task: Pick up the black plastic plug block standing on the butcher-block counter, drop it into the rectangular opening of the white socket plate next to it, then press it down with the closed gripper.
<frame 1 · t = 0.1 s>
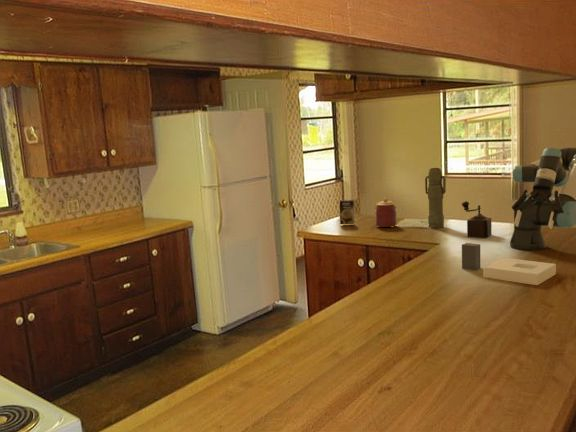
hand: (532, 226, 217), 15 cm above the worktop, tool tilted 35°, fingers open, 13 cm apart
thermos: (436, 227, 314), on the worktop
canister: (386, 226, 326), on the worktop
socket plate: (519, 275, 202), on the worktop
manual coffee grinder: (474, 236, 282), on the worktop
coffee box: (347, 225, 339), on the worktop
plug: (471, 268, 217), on the worktop
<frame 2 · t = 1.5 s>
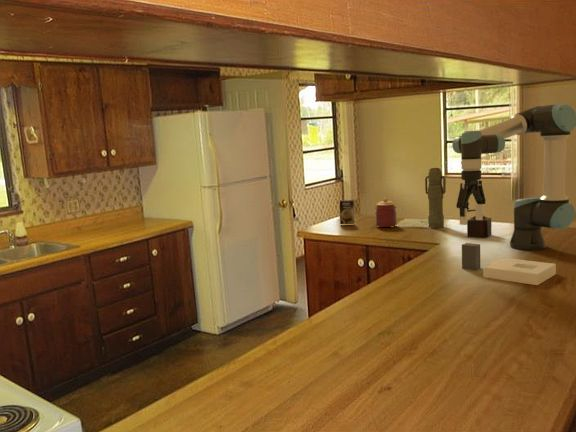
hand: (471, 222, 214), 19 cm above the worktop, tool pointing down, fingers open, 13 cm apart
nothing on the worktop moved.
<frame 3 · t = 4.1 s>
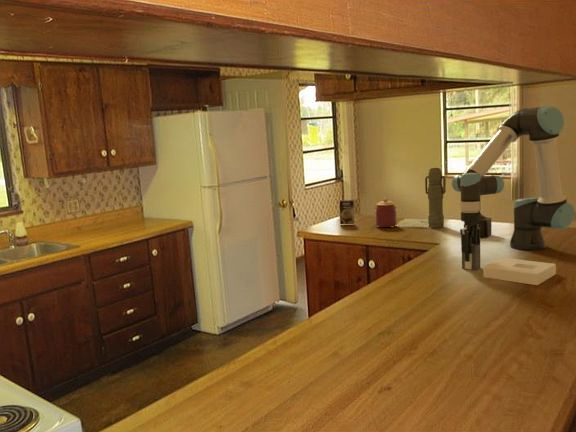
hand: (471, 267, 217), 0 cm above the worktop, tool pointing down, fingers closed on plug, 4 cm apart
plug: (471, 268, 217), on the worktop, touching gripper
everything else where it was.
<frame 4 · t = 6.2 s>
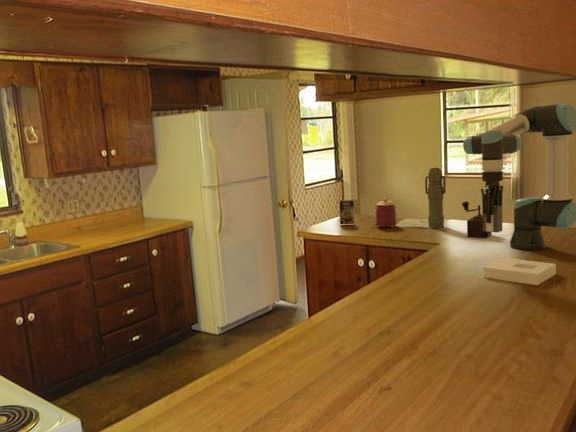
hand: (492, 230, 207), 17 cm above the worktop, tool pointing down, fingers closed on plug, 4 cm apart
plug: (492, 231, 207), point 16 cm above the worktop, touching gripper
everything else where it was.
when the fingers open (5 cm above the worktop, at t = 8.7 s): plug drops 5 cm, resting in socket plate.
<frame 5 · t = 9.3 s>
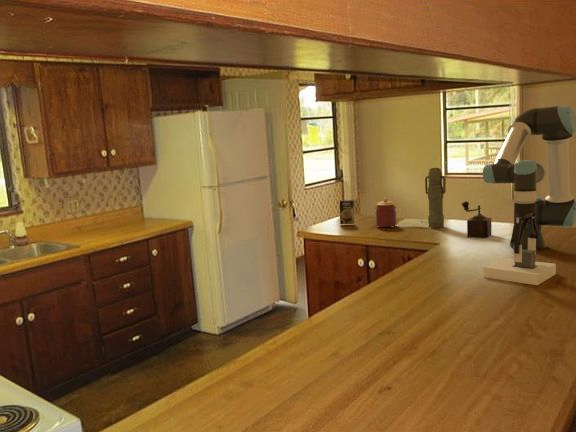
hand: (524, 258, 199), 7 cm above the worktop, tool pointing down, fingers open, 12 cm apart
plug: (524, 276, 200), resting in socket plate
everything else where it was.
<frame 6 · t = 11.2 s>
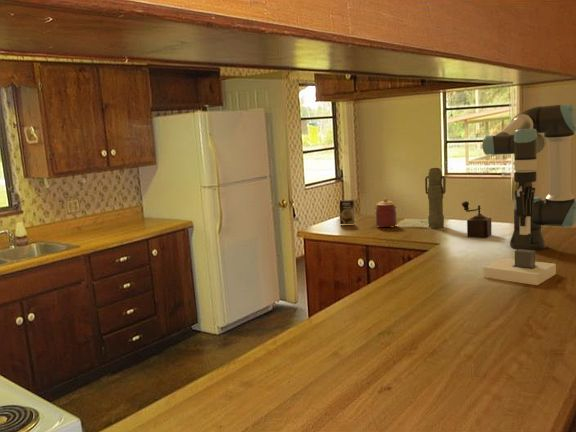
hand: (524, 233, 198), 16 cm above the worktop, tool pointing down, fingers closed
nothing on the worktop moved.
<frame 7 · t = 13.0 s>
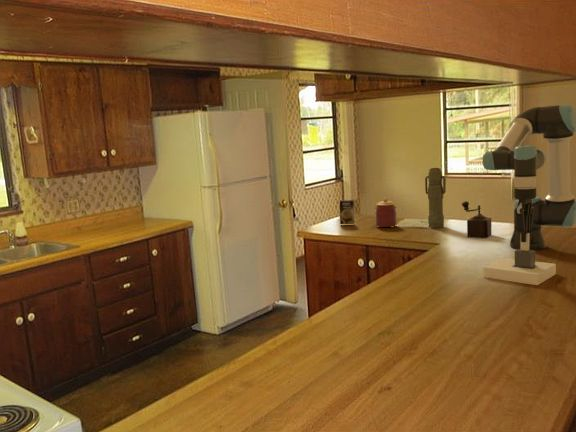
hand: (524, 250, 199), 10 cm above the worktop, tool pointing down, fingers closed
plug: (524, 276, 200), resting in socket plate, touching gripper
everything else where it was.
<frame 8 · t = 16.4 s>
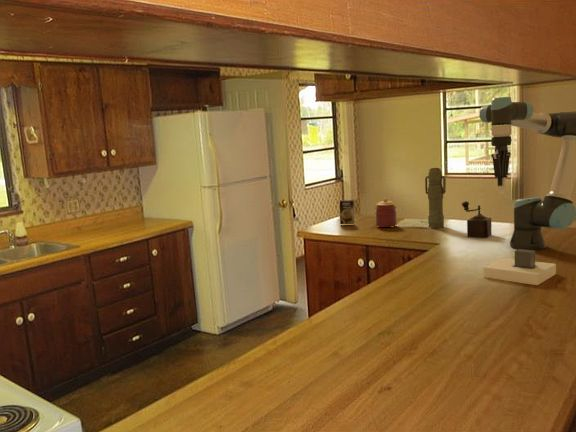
hand: (501, 193, 219), 29 cm above the worktop, tool pointing down, fingers closed
plug: (524, 276, 200), resting in socket plate
everything else where it was.
at the end: plug 0.0 cm from the target spot on the socket plate, point 0.0 cm above the socket plate's base; plug tilted 0°; the gripper is holding nothing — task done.
